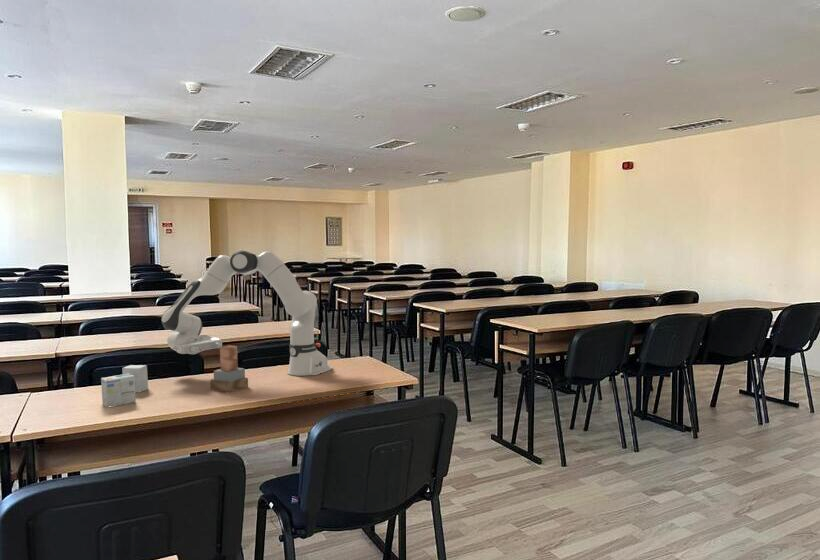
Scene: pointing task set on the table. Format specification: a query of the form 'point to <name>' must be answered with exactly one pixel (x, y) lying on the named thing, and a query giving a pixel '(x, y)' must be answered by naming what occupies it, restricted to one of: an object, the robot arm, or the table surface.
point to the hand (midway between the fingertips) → (209, 347)
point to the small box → (138, 376)
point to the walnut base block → (229, 385)
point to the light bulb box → (118, 390)
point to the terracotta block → (228, 358)
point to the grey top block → (229, 375)
